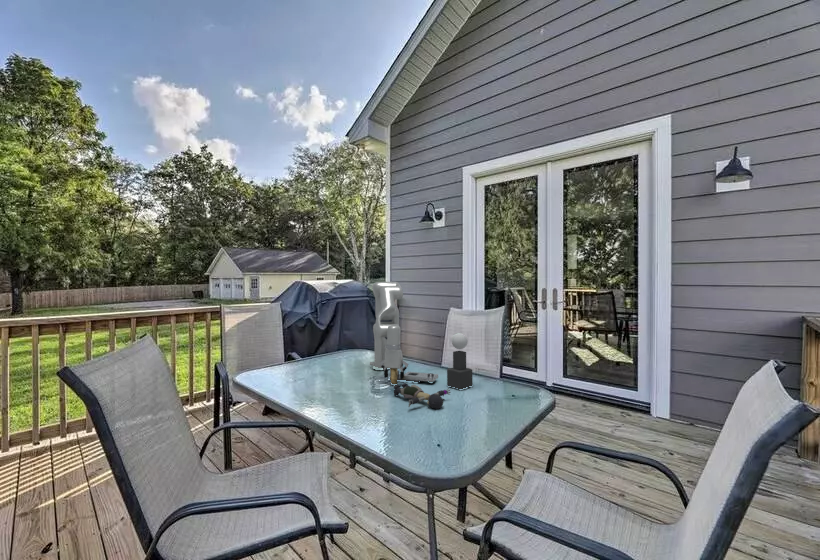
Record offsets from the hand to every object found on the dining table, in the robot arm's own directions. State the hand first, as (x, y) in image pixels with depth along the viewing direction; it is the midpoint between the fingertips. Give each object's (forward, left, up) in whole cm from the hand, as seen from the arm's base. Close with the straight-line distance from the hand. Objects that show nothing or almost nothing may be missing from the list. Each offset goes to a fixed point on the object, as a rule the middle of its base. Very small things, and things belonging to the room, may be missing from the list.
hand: (394, 377), depth 210 cm
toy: (+24, -22, -5) cm, 33 cm away
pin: (0, 0, -4) cm, 4 cm away
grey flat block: (+7, +12, -4) cm, 15 cm away
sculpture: (+36, +9, -4) cm, 37 cm away
